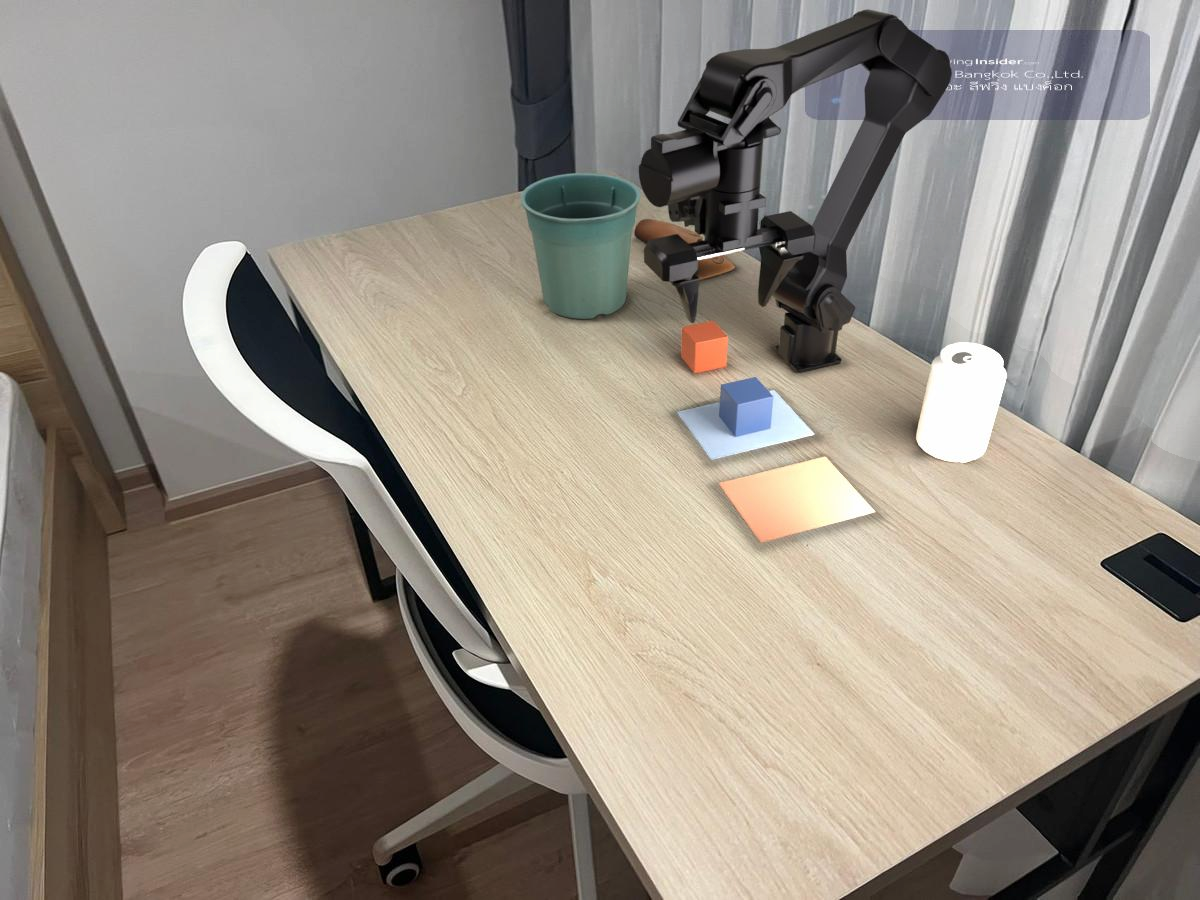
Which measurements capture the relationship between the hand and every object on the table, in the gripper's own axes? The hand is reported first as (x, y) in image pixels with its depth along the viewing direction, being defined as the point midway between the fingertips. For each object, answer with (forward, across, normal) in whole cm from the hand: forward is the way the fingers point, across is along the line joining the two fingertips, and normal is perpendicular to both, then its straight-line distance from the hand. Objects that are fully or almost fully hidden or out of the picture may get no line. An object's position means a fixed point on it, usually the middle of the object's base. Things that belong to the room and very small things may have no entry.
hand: (726, 313), depth 105 cm
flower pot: (+11, +7, -30) cm, 32 cm away
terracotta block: (+11, -1, -7) cm, 13 cm away
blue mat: (+11, +1, +8) cm, 13 cm away
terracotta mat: (+11, +3, +22) cm, 24 cm away
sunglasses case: (+11, -12, -37) cm, 41 cm away
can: (+11, -18, +20) cm, 29 cm away
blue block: (+10, +1, +8) cm, 13 cm away
